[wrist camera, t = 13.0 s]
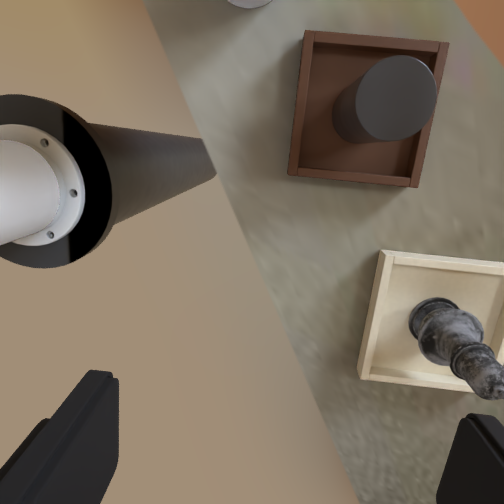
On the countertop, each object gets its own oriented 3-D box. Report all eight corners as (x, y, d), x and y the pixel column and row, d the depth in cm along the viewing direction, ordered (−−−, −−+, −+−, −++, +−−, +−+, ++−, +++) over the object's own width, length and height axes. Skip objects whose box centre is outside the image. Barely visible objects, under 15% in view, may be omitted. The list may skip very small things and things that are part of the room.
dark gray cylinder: (327, 140, 33) (348, 137, 23) (336, 81, 32) (362, 51, 22) (383, 146, 33) (427, 144, 23) (394, 86, 31) (446, 58, 22)
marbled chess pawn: (477, 320, 37) (569, 398, 25) (431, 357, 38) (498, 446, 27) (438, 282, 36) (514, 346, 24) (393, 321, 37) (445, 398, 26)
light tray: (356, 368, 40) (360, 379, 38) (380, 249, 36) (385, 254, 34) (482, 383, 39) (493, 395, 37) (519, 264, 35) (533, 270, 34)
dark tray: (287, 173, 35) (287, 175, 33) (303, 37, 31) (305, 29, 29) (410, 185, 34) (418, 188, 32) (439, 48, 31) (450, 42, 29)
